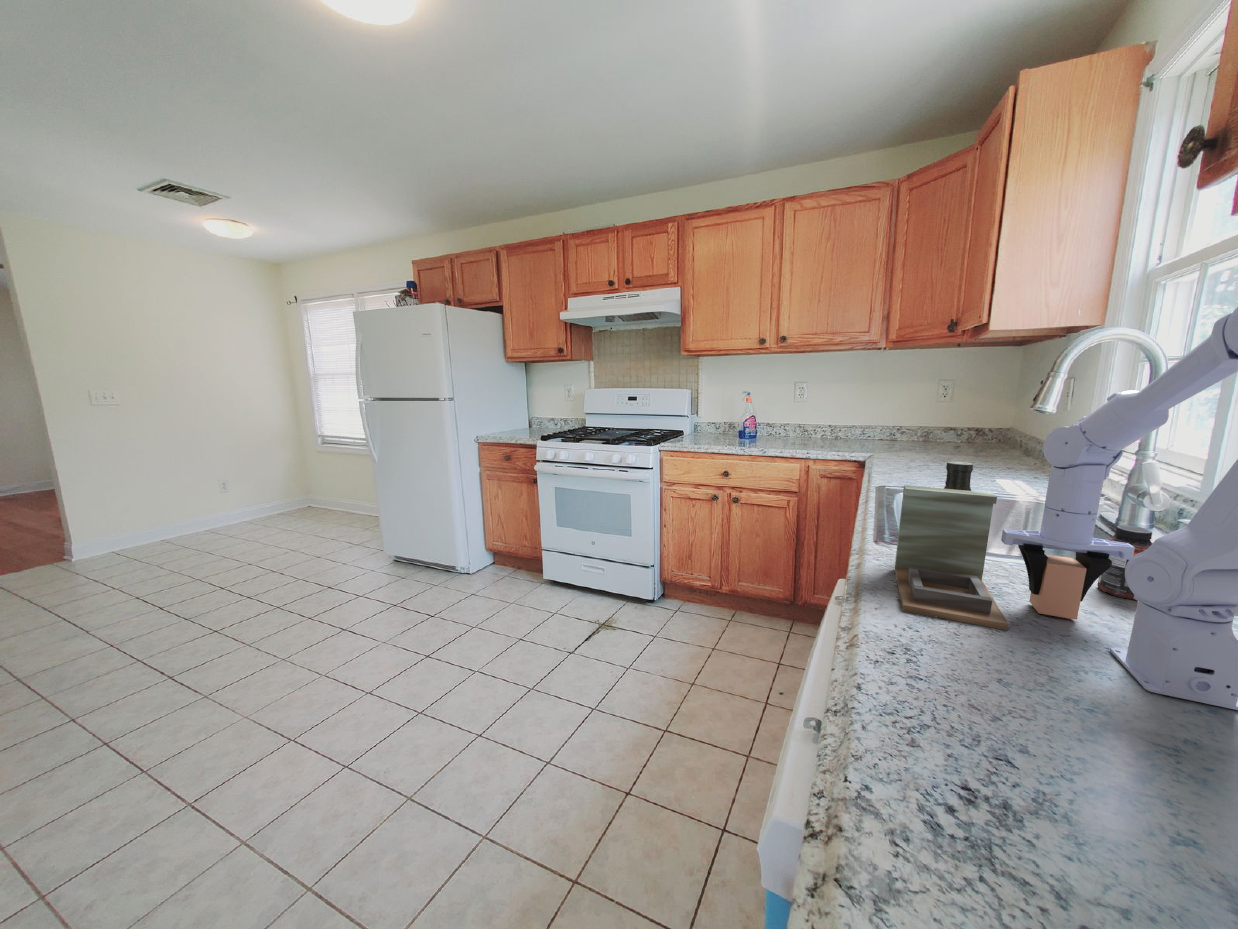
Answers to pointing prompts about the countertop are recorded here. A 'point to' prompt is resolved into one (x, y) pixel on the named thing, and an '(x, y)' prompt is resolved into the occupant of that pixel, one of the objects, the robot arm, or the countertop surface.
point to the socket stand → (946, 555)
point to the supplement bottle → (1123, 560)
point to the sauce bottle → (958, 475)
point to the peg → (1060, 588)
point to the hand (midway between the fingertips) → (1054, 595)
